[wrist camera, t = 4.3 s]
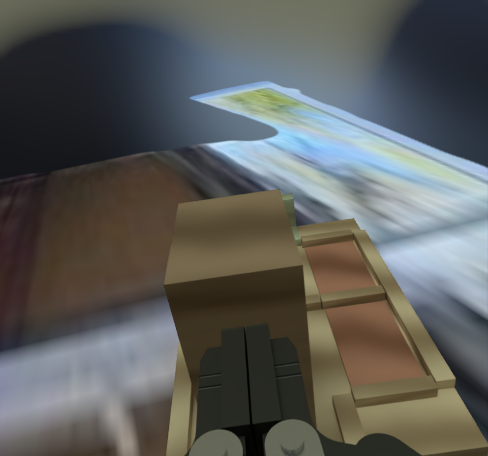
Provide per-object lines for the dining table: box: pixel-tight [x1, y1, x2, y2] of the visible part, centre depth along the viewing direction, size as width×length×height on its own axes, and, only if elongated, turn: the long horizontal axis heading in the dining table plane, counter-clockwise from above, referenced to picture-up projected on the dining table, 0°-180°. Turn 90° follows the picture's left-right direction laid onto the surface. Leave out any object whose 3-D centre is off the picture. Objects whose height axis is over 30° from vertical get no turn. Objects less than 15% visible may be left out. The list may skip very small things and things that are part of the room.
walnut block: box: [164, 189, 317, 429], centre depth 25 cm, size 8×6×13 cm
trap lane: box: [166, 193, 488, 456], centre depth 35 cm, size 27×18×5 cm, turn 3°
